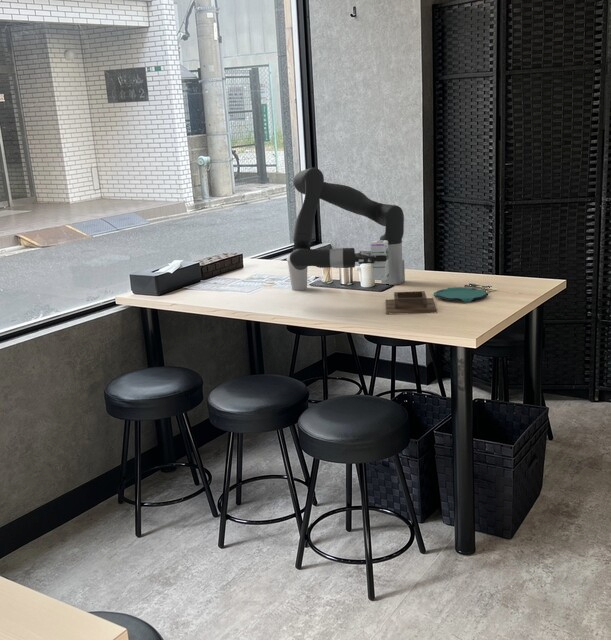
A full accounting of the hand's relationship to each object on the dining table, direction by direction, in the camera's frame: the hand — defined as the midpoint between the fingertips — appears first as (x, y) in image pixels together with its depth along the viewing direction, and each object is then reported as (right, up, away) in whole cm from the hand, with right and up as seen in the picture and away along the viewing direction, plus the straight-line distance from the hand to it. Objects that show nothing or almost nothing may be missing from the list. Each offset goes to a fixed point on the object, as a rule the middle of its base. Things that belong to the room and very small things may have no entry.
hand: (386, 256), depth 293 cm
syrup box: (-2, -8, +2) cm, 9 cm away
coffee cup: (-33, -11, +37) cm, 51 cm away
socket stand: (+8, -19, -6) cm, 22 cm away
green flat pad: (+33, -15, +9) cm, 37 cm away
